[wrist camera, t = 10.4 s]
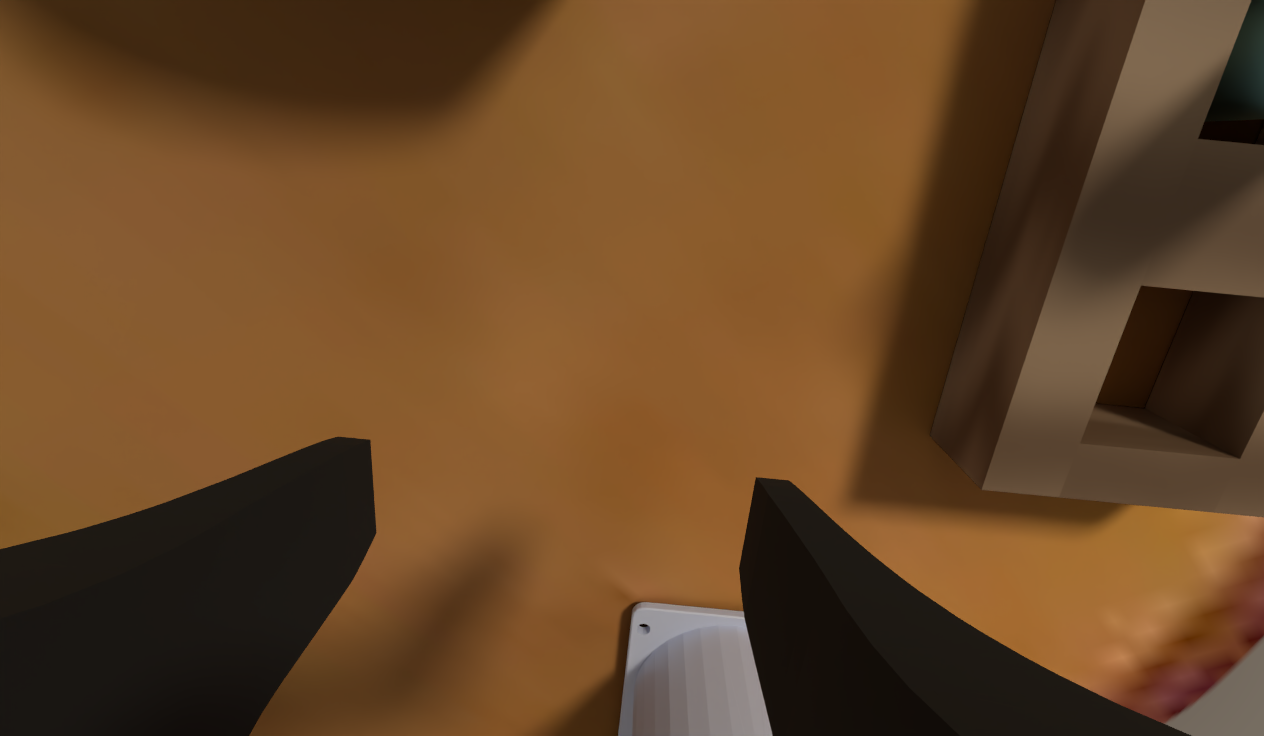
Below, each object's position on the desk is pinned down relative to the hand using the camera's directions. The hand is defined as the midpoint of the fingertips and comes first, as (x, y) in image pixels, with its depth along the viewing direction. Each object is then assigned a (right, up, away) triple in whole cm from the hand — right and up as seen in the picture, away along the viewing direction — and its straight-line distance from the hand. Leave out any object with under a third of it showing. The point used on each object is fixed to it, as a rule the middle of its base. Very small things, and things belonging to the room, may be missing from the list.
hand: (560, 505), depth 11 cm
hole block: (+17, +7, +7) cm, 20 cm away
